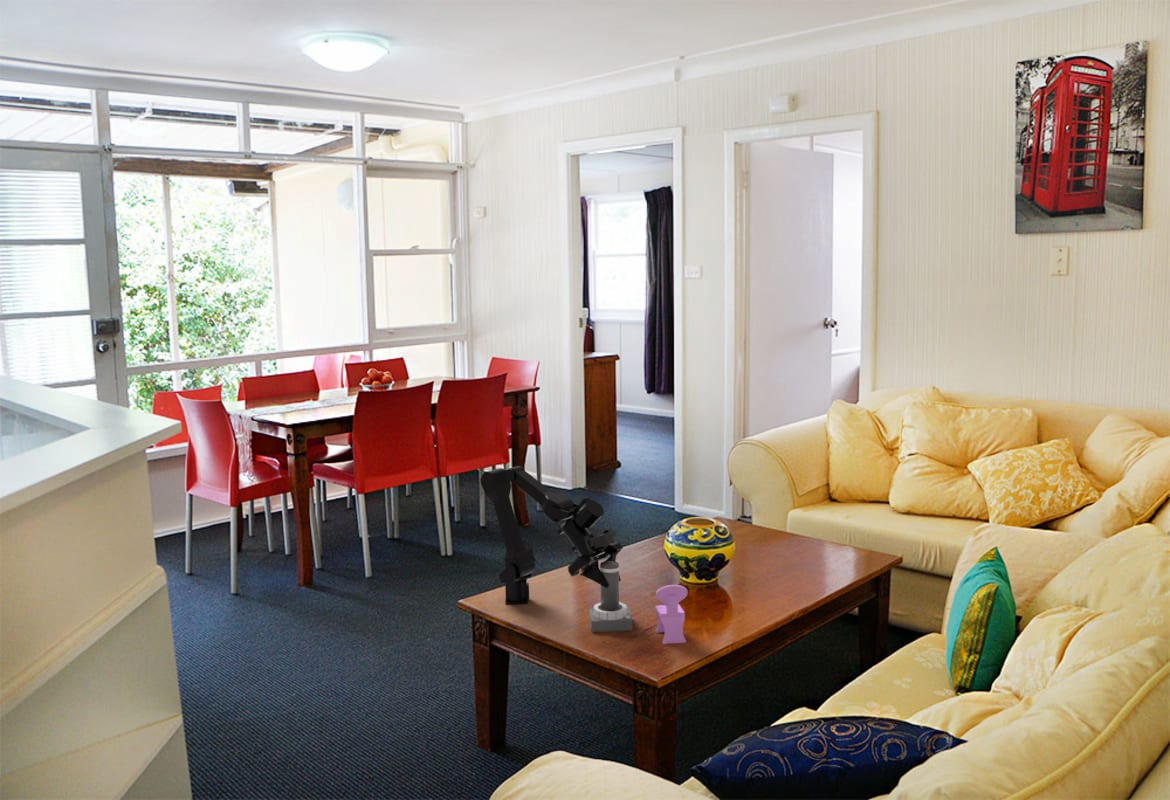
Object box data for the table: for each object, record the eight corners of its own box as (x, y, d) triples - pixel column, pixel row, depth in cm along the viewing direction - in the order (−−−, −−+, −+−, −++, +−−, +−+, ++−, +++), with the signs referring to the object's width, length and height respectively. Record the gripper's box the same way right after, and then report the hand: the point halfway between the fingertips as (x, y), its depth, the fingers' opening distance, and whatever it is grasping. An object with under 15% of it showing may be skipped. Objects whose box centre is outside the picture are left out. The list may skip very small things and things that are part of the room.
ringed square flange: (591, 632, 254) (591, 614, 253) (589, 619, 263) (589, 601, 263) (632, 630, 254) (632, 612, 254) (629, 617, 264) (628, 600, 263)
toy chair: (682, 629, 254) (681, 575, 252) (690, 642, 246) (689, 586, 244) (651, 631, 253) (650, 577, 251) (658, 644, 245) (657, 588, 243)
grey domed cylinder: (596, 607, 257) (596, 565, 256) (606, 602, 262) (606, 559, 260) (613, 611, 255) (612, 568, 253) (623, 605, 259) (622, 562, 257)
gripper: (575, 528, 250) (610, 577, 245) (617, 513, 265) (650, 558, 260) (553, 552, 256) (586, 600, 251) (594, 536, 271) (626, 581, 265)
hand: (613, 584), depth 256 cm, fingers closed on grey domed cylinder, 5 cm apart
